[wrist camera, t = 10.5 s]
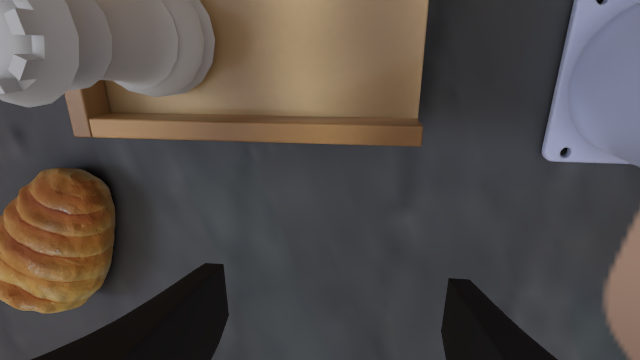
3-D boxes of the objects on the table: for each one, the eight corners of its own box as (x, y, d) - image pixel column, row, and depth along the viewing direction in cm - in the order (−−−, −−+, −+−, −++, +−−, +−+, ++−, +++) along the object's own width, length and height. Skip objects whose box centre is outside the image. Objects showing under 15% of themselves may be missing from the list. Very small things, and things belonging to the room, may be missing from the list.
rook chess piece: (122, 92, 16) (-93, 135, 8) (104, -26, 14) (-179, -102, 7) (223, 97, 15) (92, 147, 8) (216, -24, 14) (45, -102, 6)
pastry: (41, 139, 22) (-20, 157, 19) (144, 192, 23) (104, 220, 19) (13, 254, 25) (-44, 289, 22) (104, 298, 26) (63, 339, 22)
